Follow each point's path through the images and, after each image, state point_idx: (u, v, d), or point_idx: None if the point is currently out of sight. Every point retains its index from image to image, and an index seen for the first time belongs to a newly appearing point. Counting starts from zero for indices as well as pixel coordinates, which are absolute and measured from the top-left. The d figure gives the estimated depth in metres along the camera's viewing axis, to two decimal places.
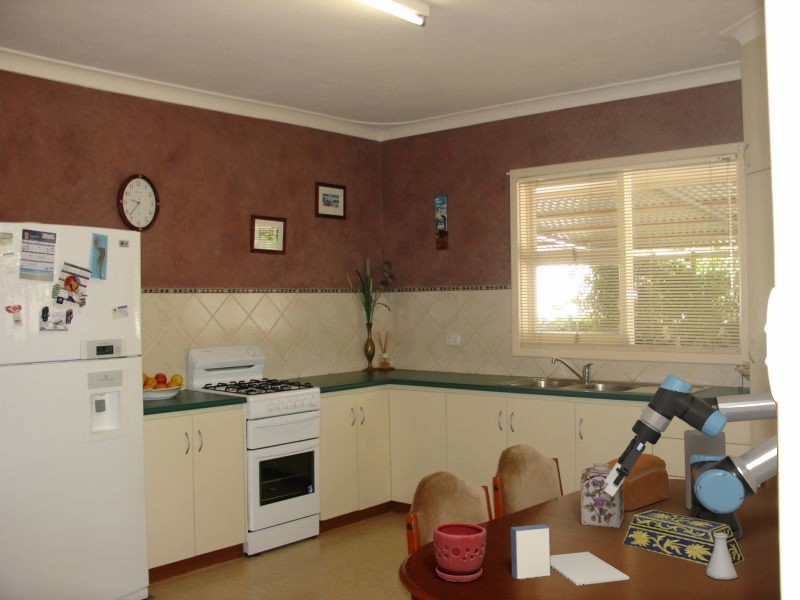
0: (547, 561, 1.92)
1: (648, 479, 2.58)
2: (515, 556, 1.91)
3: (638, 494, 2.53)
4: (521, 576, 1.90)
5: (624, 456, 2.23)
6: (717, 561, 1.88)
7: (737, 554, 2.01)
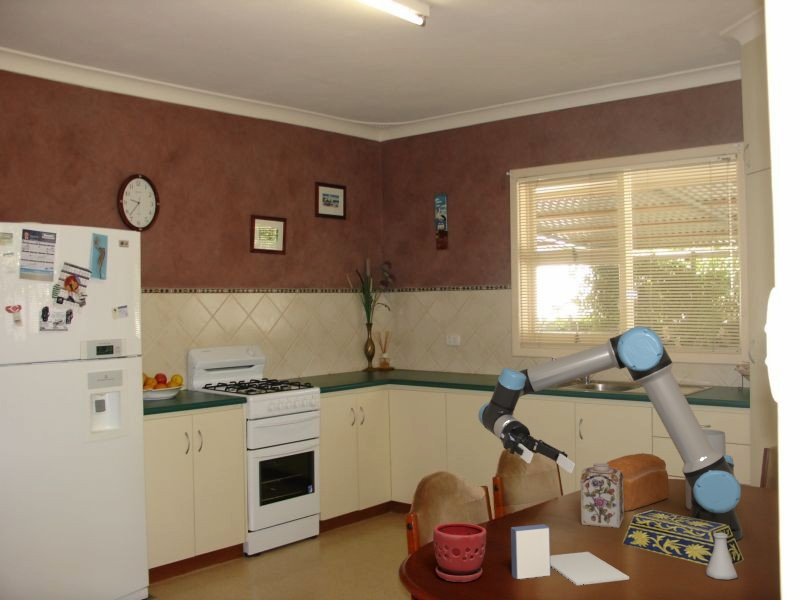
0: (547, 561, 1.92)
1: (648, 479, 2.58)
2: (515, 556, 1.91)
3: (637, 494, 2.54)
4: (521, 576, 1.90)
5: (547, 455, 2.13)
6: (717, 561, 1.88)
7: (737, 554, 2.01)
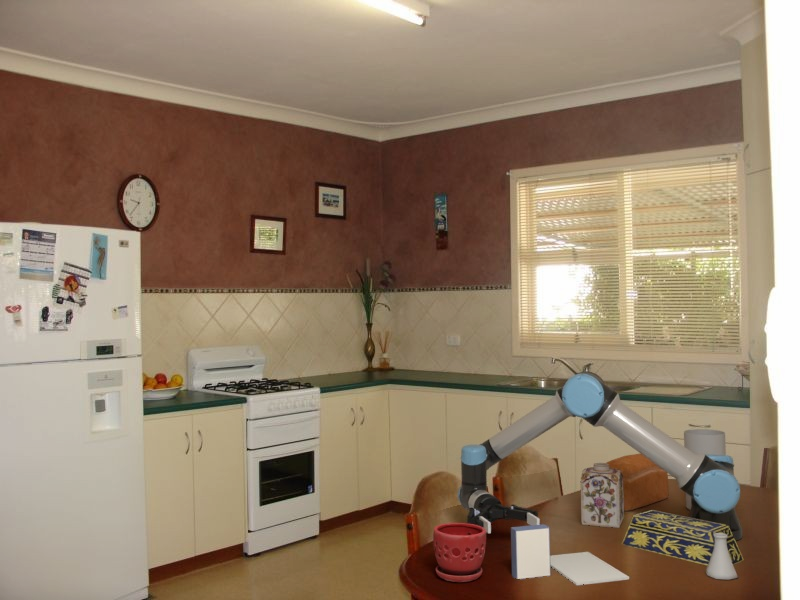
0: (547, 561, 1.92)
1: (648, 479, 2.58)
2: (515, 556, 1.91)
3: (637, 494, 2.54)
4: (521, 576, 1.90)
5: (518, 518, 2.13)
6: (717, 561, 1.88)
7: (737, 554, 2.00)
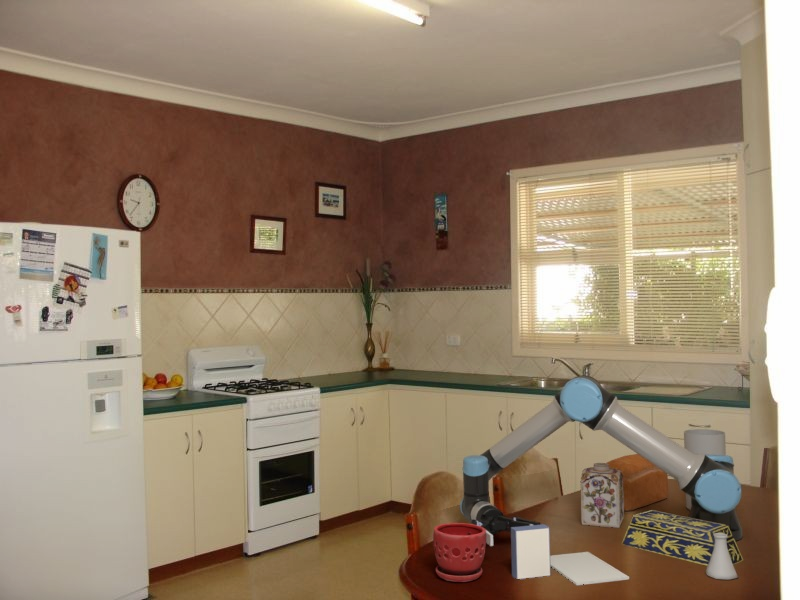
0: (547, 561, 1.92)
1: (648, 479, 2.58)
2: (515, 556, 1.91)
3: (637, 494, 2.54)
4: (521, 576, 1.90)
5: None
6: (717, 561, 1.88)
7: (736, 554, 2.00)
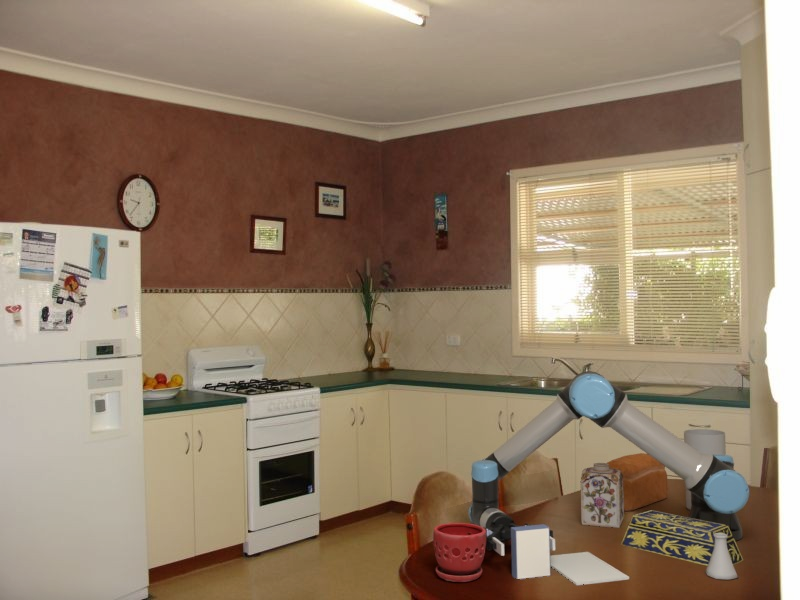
0: (547, 561, 1.92)
1: (648, 479, 2.58)
2: (515, 556, 1.91)
3: (638, 494, 2.54)
4: (521, 576, 1.90)
5: None
6: (717, 561, 1.88)
7: (736, 554, 2.00)
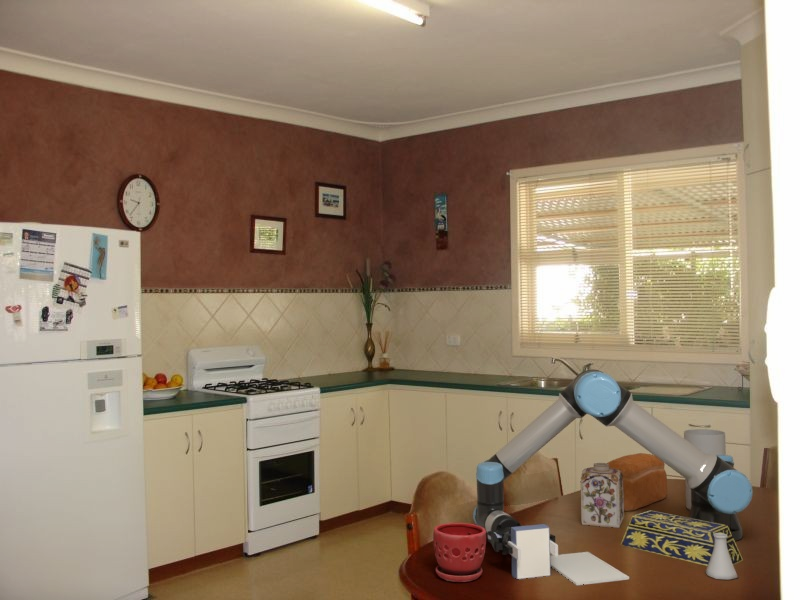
0: (547, 561, 1.92)
1: (648, 479, 2.58)
2: None
3: (638, 494, 2.54)
4: (521, 576, 1.90)
5: None
6: (717, 561, 1.88)
7: (736, 554, 2.00)
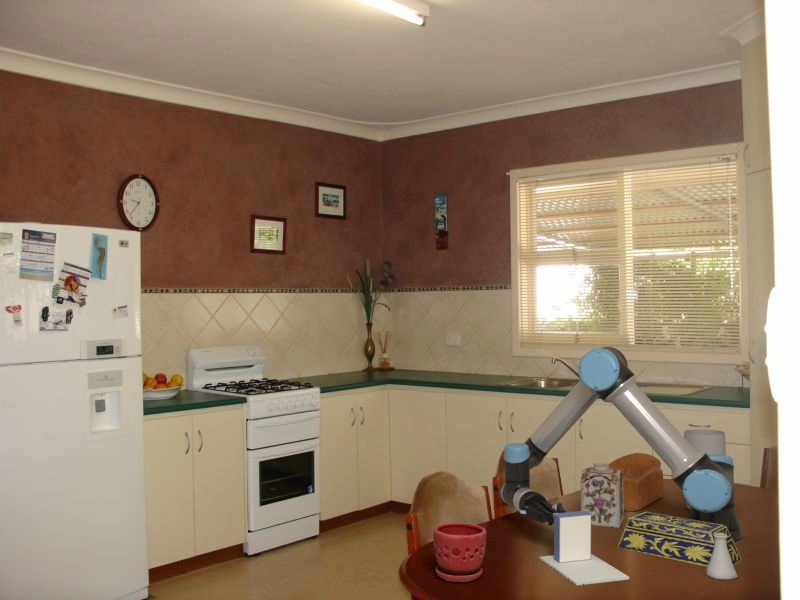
0: (588, 546, 2.02)
1: (650, 478, 2.59)
2: (558, 541, 2.00)
3: (643, 494, 2.54)
4: (563, 560, 2.00)
5: None
6: (717, 561, 1.88)
7: (735, 554, 2.00)
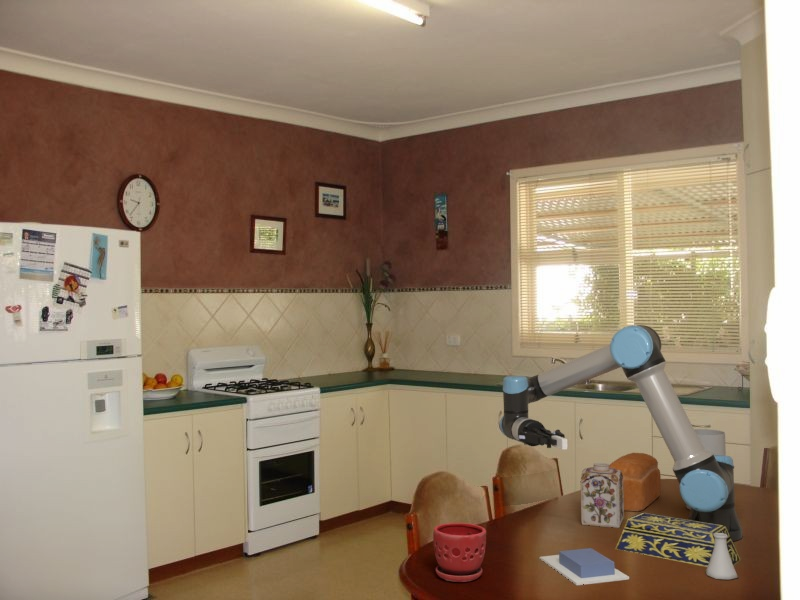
0: None
1: (651, 478, 2.59)
2: (569, 567, 1.95)
3: (646, 494, 2.54)
4: None
5: None
6: (717, 561, 1.88)
7: (735, 554, 2.00)
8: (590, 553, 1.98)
